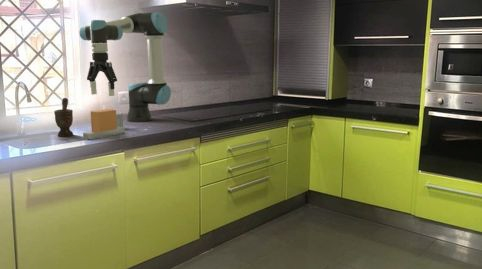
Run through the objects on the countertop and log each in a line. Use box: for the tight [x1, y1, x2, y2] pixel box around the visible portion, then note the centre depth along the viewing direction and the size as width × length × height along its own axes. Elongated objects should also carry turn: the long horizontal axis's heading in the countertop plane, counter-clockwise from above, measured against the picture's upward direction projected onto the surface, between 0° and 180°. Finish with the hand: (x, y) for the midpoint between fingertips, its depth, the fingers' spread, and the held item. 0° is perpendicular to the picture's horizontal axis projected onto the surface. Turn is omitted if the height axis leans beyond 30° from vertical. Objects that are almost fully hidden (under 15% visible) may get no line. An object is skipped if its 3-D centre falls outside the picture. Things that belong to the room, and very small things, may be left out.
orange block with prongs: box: [90, 108, 117, 132], centre depth 224 cm, size 11×6×13 cm, turn 146°
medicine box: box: [116, 112, 124, 127], centre depth 245 cm, size 8×4×9 cm, turn 92°
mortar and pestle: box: [54, 97, 74, 137], centre depth 224 cm, size 12×9×20 cm
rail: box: [82, 126, 126, 140], centre depth 225 cm, size 22×5×3 cm, turn 146°
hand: (102, 95), depth 222 cm, fingers open, 13 cm apart
